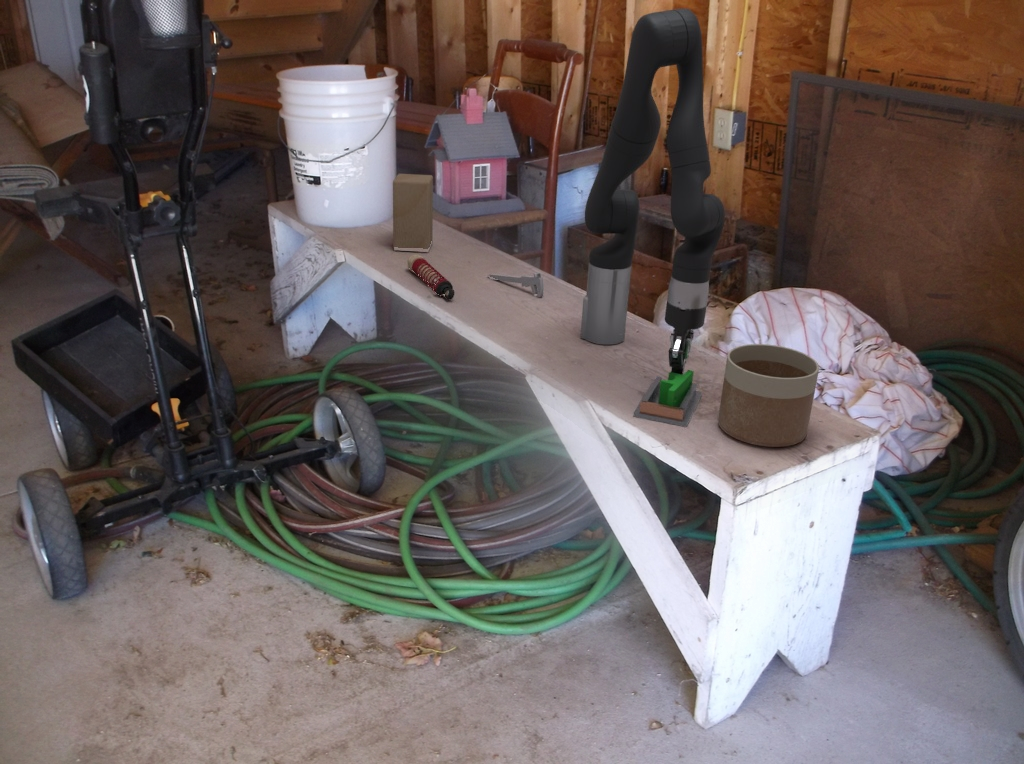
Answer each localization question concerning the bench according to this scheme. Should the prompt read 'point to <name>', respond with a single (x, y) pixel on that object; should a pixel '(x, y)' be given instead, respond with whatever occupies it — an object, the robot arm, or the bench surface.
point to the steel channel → (664, 413)
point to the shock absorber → (430, 276)
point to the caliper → (524, 281)
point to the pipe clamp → (675, 388)
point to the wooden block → (412, 211)
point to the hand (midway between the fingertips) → (675, 382)
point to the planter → (767, 394)
